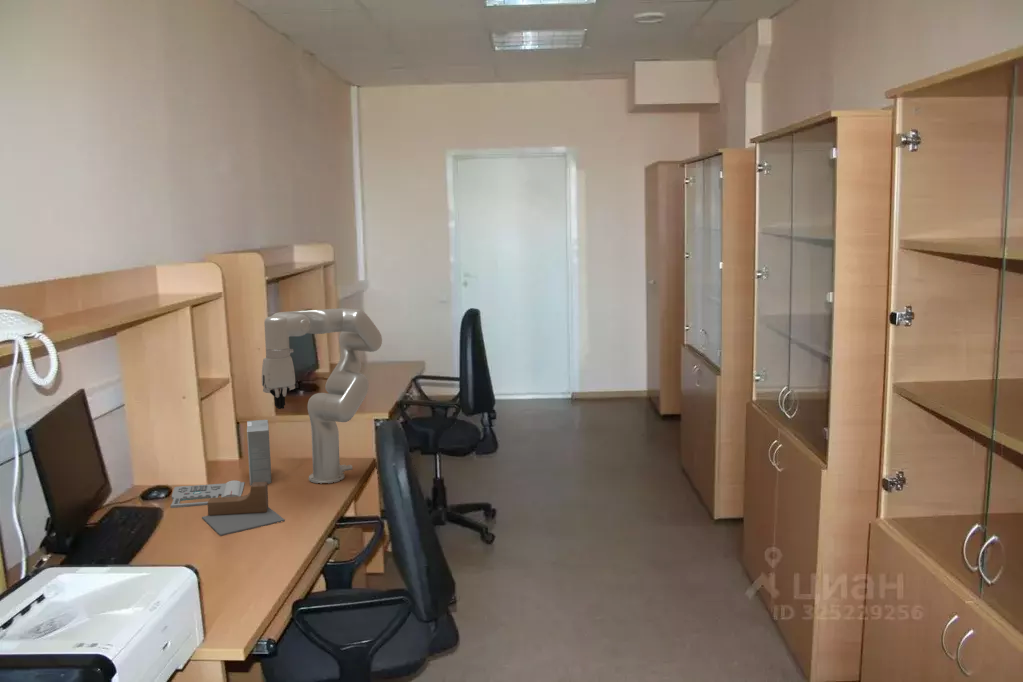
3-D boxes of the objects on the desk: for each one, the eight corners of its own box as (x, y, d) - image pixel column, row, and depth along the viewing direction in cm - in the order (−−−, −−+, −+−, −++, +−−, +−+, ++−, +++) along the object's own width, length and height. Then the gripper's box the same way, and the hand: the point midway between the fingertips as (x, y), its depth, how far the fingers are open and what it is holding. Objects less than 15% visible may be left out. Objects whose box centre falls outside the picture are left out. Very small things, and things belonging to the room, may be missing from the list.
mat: (264, 505, 269) (264, 503, 269) (284, 521, 255) (284, 519, 255) (202, 518, 257) (201, 516, 257) (220, 536, 243) (220, 534, 243)
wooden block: (267, 481, 263) (209, 484, 261) (265, 485, 259) (206, 488, 256) (268, 507, 265) (210, 510, 262) (266, 512, 260) (207, 515, 258)
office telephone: (244, 478, 291) (241, 496, 272) (244, 485, 291) (242, 503, 272) (174, 483, 284) (166, 501, 265) (174, 490, 285) (167, 509, 266)
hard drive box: (249, 472, 302) (246, 420, 299) (271, 471, 305) (268, 419, 302) (249, 486, 288) (246, 431, 285) (272, 483, 290) (269, 429, 287)
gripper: (294, 350, 276) (297, 403, 279) (251, 354, 267) (254, 409, 270) (303, 353, 270) (305, 407, 273) (259, 357, 261) (262, 413, 264)
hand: (280, 408), depth 271 cm, fingers closed
